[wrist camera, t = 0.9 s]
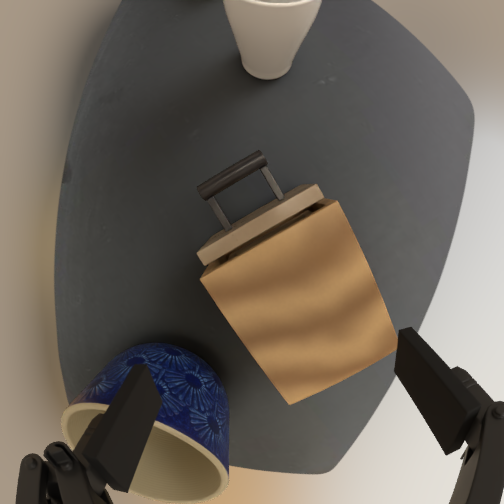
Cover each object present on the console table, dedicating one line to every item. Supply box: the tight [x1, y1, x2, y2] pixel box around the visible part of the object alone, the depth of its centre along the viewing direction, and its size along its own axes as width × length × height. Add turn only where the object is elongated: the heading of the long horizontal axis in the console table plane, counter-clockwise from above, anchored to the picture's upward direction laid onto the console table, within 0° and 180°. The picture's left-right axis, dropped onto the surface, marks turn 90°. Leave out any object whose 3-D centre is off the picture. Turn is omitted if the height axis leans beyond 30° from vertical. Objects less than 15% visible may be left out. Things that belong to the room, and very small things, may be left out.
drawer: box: [197, 150, 324, 266], centre depth 25 cm, size 18×10×7 cm, turn 30°
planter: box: [61, 343, 229, 504], centre depth 26 cm, size 17×17×15 cm
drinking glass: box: [223, 0, 322, 80], centre depth 18 cm, size 7×7×15 cm
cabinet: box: [200, 198, 398, 405], centre depth 26 cm, size 15×12×9 cm
